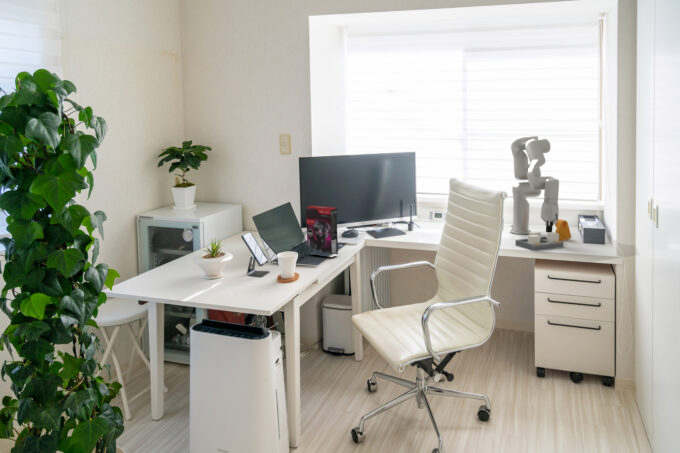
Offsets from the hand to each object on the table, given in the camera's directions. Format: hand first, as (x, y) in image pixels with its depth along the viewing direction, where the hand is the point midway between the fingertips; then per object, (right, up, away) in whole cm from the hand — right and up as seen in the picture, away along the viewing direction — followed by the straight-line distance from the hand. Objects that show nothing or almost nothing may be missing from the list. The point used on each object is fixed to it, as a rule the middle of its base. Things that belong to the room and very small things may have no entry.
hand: (548, 232), depth 355 cm
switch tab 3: (+1, -6, -2) cm, 6 cm away
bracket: (+11, -5, +15) cm, 19 cm away
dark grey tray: (-6, -8, -1) cm, 10 cm away
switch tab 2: (-11, -7, -7) cm, 15 cm away
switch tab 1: (-8, -5, +2) cm, 9 cm away
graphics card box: (-129, -13, -13) cm, 130 cm away
